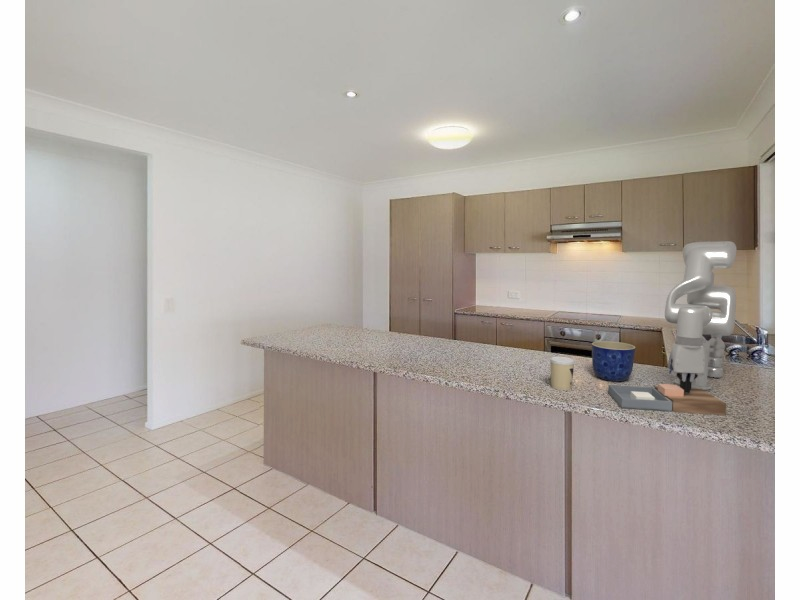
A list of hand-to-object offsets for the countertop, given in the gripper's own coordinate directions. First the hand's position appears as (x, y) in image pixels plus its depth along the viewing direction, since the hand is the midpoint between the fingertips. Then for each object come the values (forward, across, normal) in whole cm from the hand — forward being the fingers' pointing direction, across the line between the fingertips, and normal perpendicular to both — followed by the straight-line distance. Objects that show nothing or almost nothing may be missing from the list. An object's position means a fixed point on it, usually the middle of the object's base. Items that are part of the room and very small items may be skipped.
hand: (685, 391), depth 145 cm
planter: (+5, +16, -30) cm, 34 cm away
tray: (+5, +15, 0) cm, 16 cm away
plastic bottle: (+5, -30, -40) cm, 50 cm away
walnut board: (+5, -1, 0) cm, 5 cm away
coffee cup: (+5, +40, -13) cm, 42 cm away
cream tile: (+2, +14, 0) cm, 14 cm away
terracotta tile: (+1, +5, 0) cm, 5 cm away
